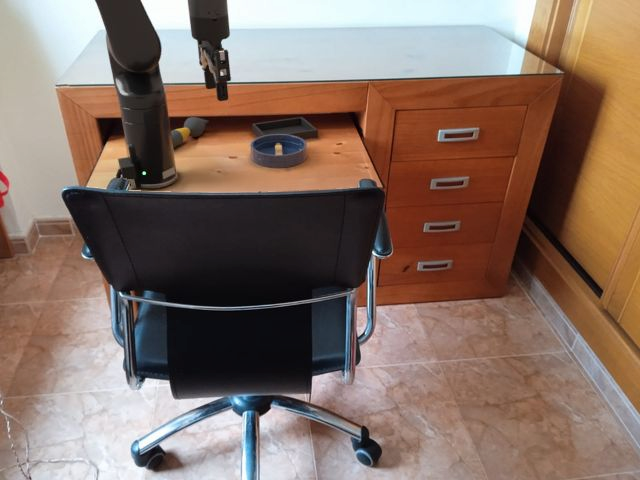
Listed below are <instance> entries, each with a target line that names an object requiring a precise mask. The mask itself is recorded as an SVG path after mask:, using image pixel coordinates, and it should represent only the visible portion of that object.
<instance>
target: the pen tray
mask: <svg viewBox="0 0 640 480" xmlns="http://www.w3.org/2000/svg"><path fill="white" fill-rule="evenodd" d="M251 129H252V133H253V134H254V135H255V136H256V138H258V137H261V136H264V135H270V134H288V135H293V136H297V137H300V138H302V139H303V140H304V141H305V140H310V139H315V138H319V137H318V136H319V132H318V131H319V129H318V128H316V127H315V126H314V125H313V124H311V123H310V122H309V120H306V119H305V118H304V117H303V116H299V117H292V118H284V119H277V120H271V121H264V122H257V123H251Z"/></svg>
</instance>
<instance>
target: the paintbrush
mask: <svg viewBox="0 0 640 480" xmlns="http://www.w3.org/2000/svg"><path fill="white" fill-rule="evenodd" d="M209 122H210V120H208V119H207V120H206V119H204V118H200V117H196V116H191V117H188V118H187V119H186V120H184V123H183V127H180V128H176V129H172V130H171V136H172V143H173V149H174V148H176V147H178V146H180V145H181V144H182V143H184V142H185V140H186V139H187V138H188V137H192V138H197V137H200V136H201V135H203V133H204V130H205V128H206V125H207V124H208V123H209Z"/></svg>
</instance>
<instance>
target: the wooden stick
mask: <svg viewBox="0 0 640 480" xmlns="http://www.w3.org/2000/svg"><path fill="white" fill-rule="evenodd" d="M275 155H282V145H280V143H276V145H275Z"/></svg>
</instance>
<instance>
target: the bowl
mask: <svg viewBox="0 0 640 480" xmlns="http://www.w3.org/2000/svg"><path fill="white" fill-rule="evenodd" d="M276 143H280V145H282V155H275V145H276ZM249 149H250V158H251V160H252V162H253V163H255V164H257V165H259V166H262V167H265V168H271V169H284V168H285V169H286V168H292V167H295V166H298V165H300V164H302V163H304V162H305V161H307V157H308V144H307V141H306V140H305V139H304V140H303V139H302V138H300V137H297V136H293V135H288V134H270V135H264V136H261V137H255V138H254V139H253V140H252V141H251V142H250V144H249Z"/></svg>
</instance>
